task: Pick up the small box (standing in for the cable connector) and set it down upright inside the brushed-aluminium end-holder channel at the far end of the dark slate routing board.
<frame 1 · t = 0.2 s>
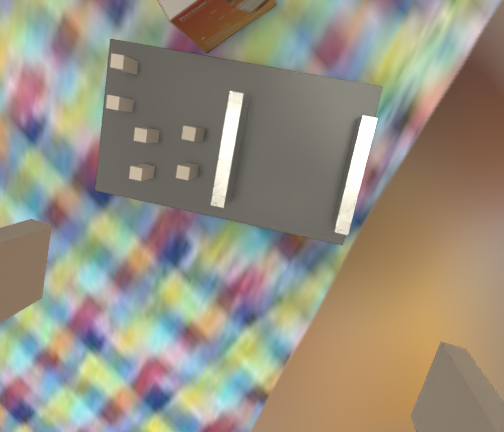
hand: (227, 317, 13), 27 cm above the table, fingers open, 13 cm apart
small box: (227, 3, 37), on the table
route board: (229, 142, 39), on the table
end holder: (292, 160, 38), resting on route board
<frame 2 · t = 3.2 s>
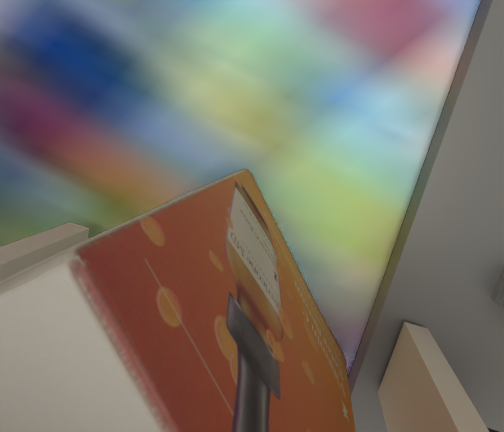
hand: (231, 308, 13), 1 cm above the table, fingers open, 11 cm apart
small box: (232, 290, 15), on the table
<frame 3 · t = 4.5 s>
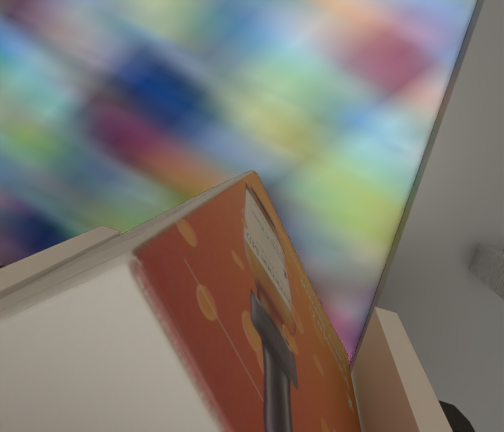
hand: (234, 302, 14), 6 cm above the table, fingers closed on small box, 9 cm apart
small box: (238, 287, 15), point 4 cm above the table, touching gripper
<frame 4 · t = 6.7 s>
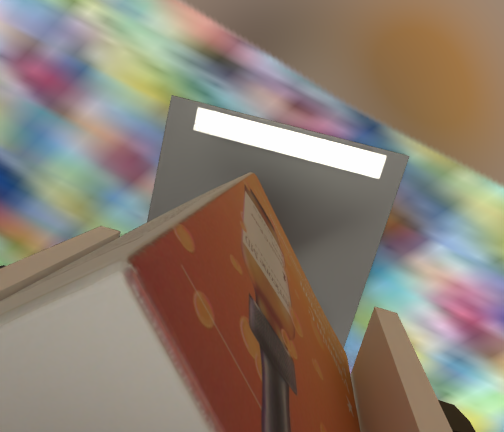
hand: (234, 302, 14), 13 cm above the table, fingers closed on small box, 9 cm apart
small box: (237, 290, 15), point 12 cm above the table, touching gripper
route board: (239, 307, 28), on the table
end holder: (269, 223, 26), resting on route board
when the fingers open (3 cm above the table, at t = 9.1 s): small box drops 1 cm, resting on route board.
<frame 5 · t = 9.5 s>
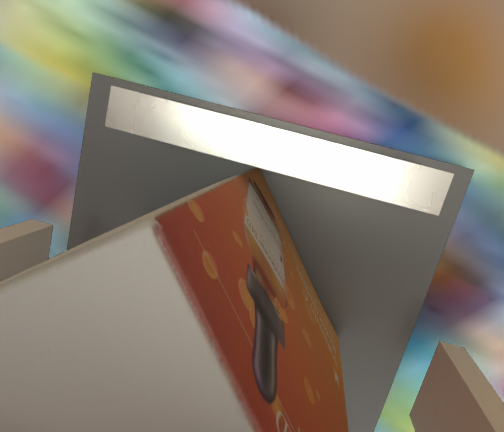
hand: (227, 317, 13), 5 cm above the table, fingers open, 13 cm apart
small box: (240, 275, 17), point 1 cm above the table, touching route board
route board: (207, 390, 19), on the table
end holder: (249, 269, 17), resting on route board
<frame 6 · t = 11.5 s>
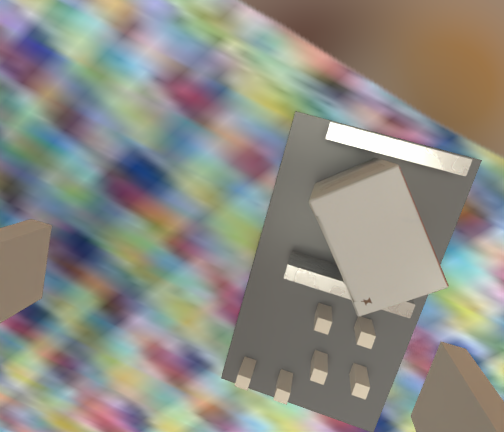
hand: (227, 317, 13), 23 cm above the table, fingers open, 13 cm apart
small box: (362, 212, 33), point 1 cm above the table, touching route board
route board: (336, 277, 35), on the table
end holder: (364, 211, 34), resting on route board
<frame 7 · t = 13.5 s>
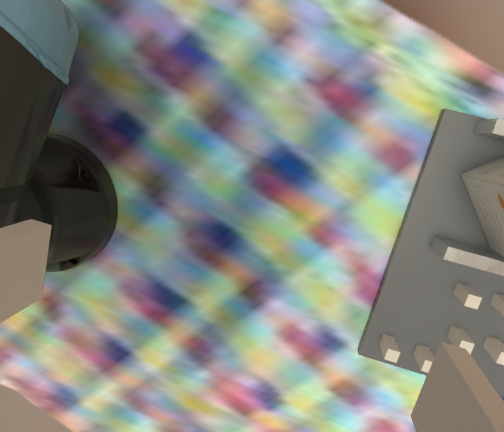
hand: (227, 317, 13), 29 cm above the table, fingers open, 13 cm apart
small box: (502, 199, 37), point 1 cm above the table, touching route board
route board: (471, 259, 39), on the table
end holder: (502, 198, 38), resting on route board
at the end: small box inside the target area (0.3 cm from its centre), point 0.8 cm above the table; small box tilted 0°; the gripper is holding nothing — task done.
